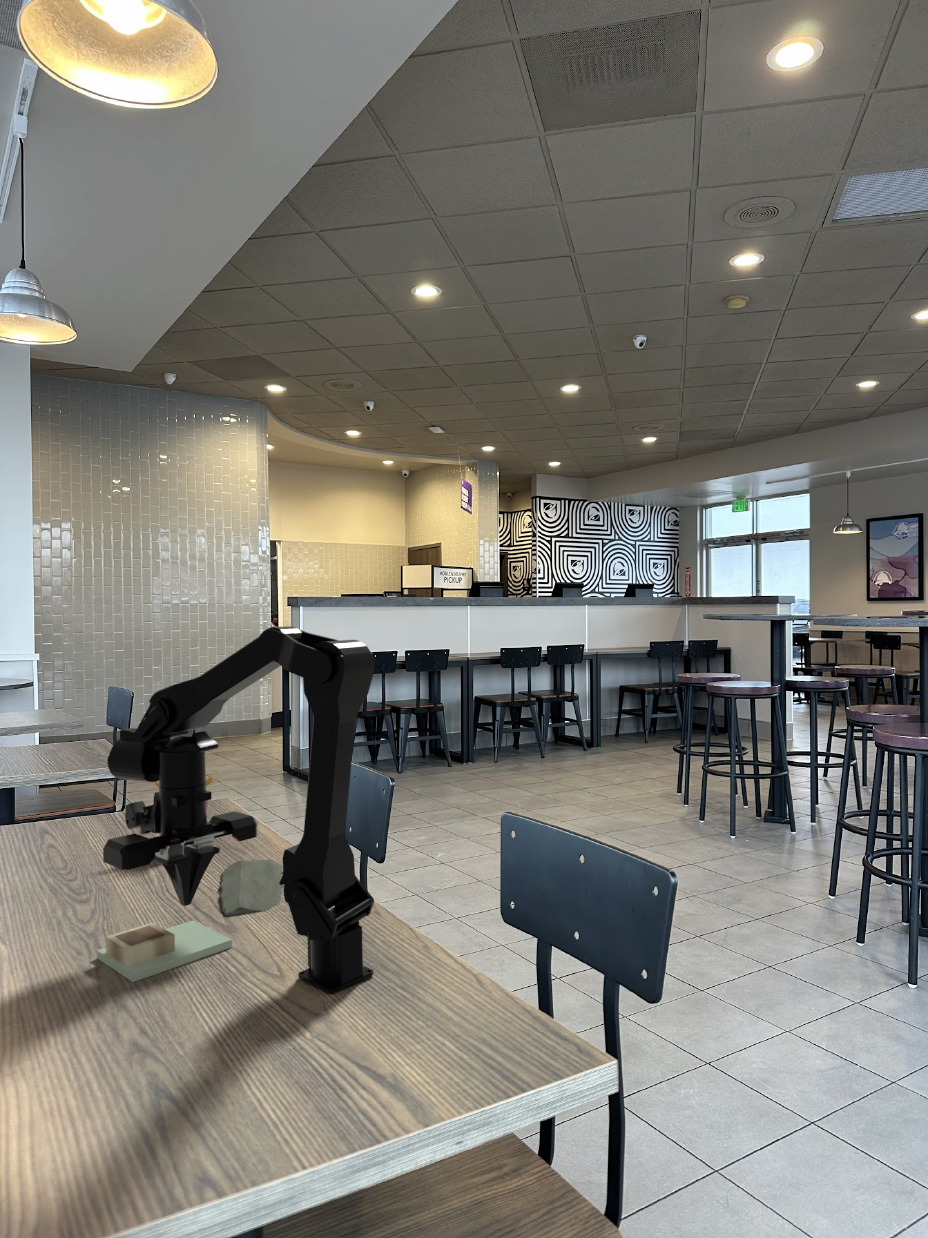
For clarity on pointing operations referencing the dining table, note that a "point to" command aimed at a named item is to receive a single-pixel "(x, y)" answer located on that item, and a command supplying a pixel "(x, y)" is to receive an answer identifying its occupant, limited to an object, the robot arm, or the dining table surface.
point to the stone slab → (250, 887)
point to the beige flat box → (140, 944)
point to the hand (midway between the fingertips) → (185, 904)
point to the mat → (189, 947)
